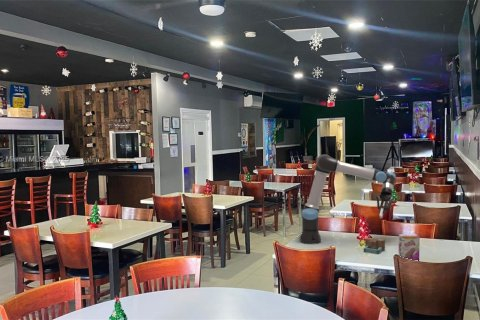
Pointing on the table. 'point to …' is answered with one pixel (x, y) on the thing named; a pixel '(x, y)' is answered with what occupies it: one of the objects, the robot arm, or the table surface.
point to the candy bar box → (409, 246)
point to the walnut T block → (375, 243)
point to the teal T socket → (373, 250)
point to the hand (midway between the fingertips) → (380, 216)
